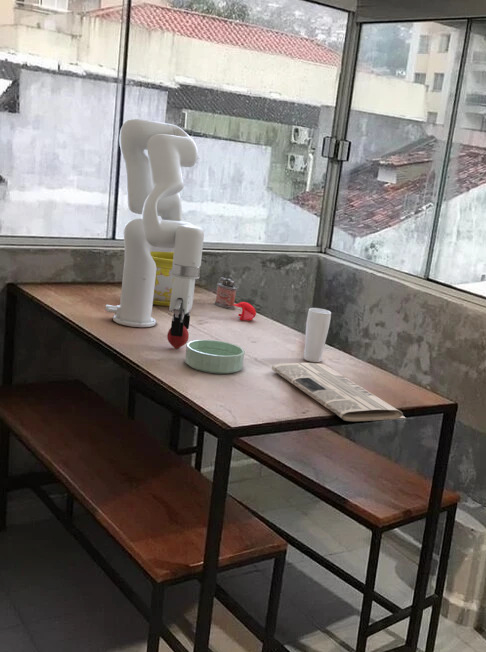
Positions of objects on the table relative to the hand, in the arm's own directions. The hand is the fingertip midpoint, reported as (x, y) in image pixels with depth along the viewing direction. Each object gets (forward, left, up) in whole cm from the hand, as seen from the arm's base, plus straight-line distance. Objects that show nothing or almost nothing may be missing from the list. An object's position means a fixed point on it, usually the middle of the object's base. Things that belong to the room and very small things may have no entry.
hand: (179, 332), depth 224 cm
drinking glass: (+38, +11, -5) cm, 39 cm away
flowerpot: (-16, +57, -5) cm, 59 cm away
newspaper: (+45, -19, -5) cm, 49 cm away
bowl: (+12, -10, -5) cm, 16 cm away
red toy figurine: (+13, +49, -5) cm, 51 cm away
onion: (0, +1, -5) cm, 5 cm away
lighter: (+4, +65, -5) cm, 66 cm away
